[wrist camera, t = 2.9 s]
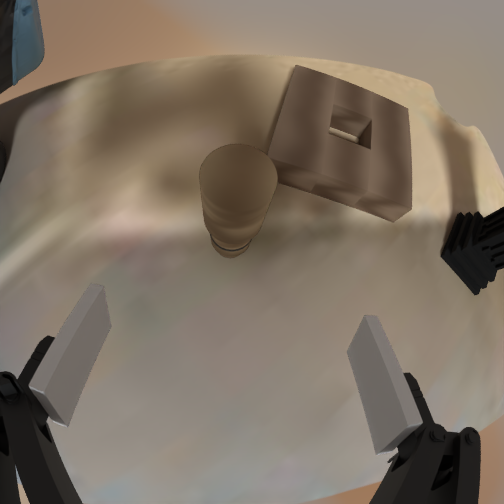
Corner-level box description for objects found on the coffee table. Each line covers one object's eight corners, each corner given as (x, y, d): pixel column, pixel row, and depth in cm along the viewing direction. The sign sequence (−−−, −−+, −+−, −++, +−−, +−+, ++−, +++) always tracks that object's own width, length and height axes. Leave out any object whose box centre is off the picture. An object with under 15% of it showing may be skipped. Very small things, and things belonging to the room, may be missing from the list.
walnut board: (260, 177, 31) (266, 157, 27) (289, 85, 36) (295, 64, 32) (393, 222, 32) (411, 209, 28) (395, 125, 36) (407, 108, 32)
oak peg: (201, 258, 28) (188, 198, 16) (215, 217, 29) (213, 136, 17) (245, 271, 28) (266, 220, 16) (257, 229, 29) (284, 155, 17)
